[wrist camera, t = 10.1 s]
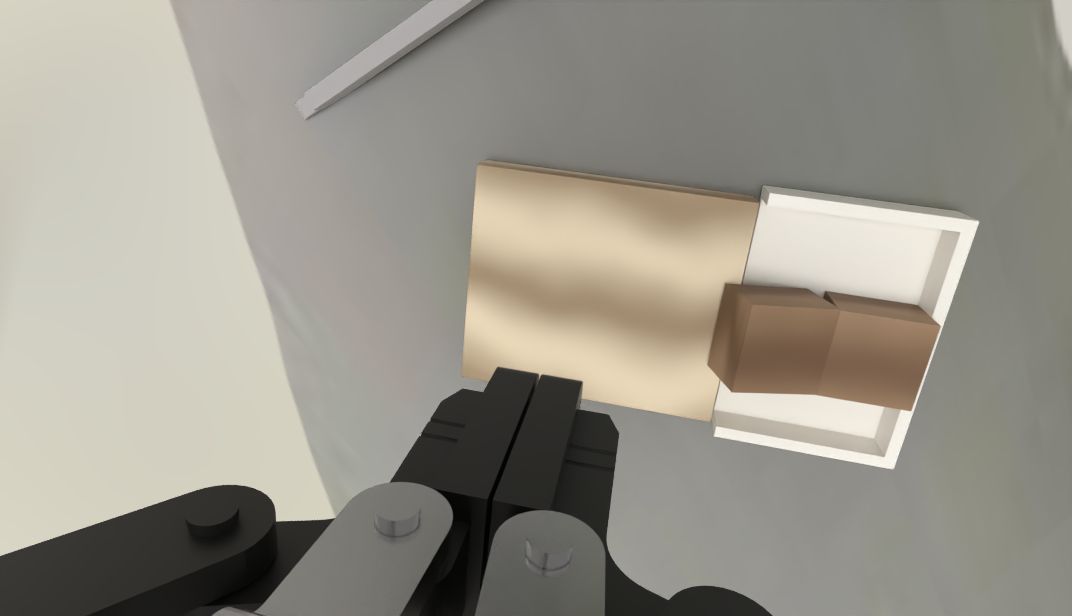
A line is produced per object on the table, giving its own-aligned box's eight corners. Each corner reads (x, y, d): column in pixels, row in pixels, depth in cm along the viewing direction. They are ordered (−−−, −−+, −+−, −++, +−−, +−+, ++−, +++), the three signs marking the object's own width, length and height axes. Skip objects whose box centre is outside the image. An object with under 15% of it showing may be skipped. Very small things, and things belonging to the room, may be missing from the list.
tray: (763, 185, 33) (769, 192, 31) (957, 211, 32) (979, 221, 30) (711, 415, 38) (714, 436, 36) (879, 445, 37) (893, 469, 35)
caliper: (636, -113, 31) (628, -157, 25) (646, -89, 31) (641, -127, 25) (299, 102, 37) (230, 108, 31) (309, 121, 37) (243, 129, 31)
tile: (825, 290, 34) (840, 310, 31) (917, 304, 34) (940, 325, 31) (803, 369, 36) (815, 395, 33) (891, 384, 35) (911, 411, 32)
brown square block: (725, 283, 33) (752, 304, 30) (807, 288, 34) (841, 309, 31) (707, 365, 35) (731, 392, 32) (786, 367, 36) (816, 395, 33)
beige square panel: (487, 159, 36) (477, 164, 34) (754, 196, 34) (759, 203, 32) (470, 362, 40) (461, 376, 38) (708, 404, 38) (710, 421, 36)
